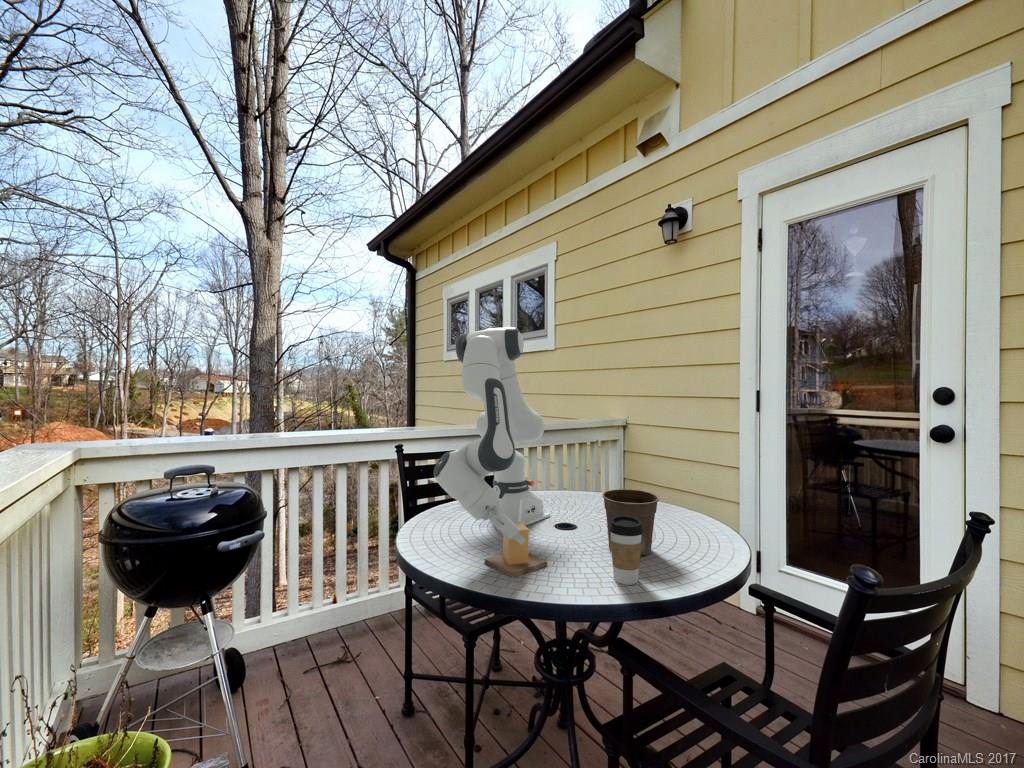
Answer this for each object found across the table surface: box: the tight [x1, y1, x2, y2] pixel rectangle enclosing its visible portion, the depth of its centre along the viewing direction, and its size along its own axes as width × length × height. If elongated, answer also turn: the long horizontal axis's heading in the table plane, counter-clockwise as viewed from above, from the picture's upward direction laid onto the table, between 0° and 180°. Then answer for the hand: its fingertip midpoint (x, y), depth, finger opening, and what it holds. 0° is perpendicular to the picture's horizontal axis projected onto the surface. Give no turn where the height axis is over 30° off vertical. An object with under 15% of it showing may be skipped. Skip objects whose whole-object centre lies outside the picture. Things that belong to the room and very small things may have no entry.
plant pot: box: [602, 488, 660, 557], centre depth 141 cm, size 16×16×16 cm
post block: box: [484, 552, 548, 578], centre depth 130 cm, size 12×12×6 cm
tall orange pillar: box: [502, 523, 529, 565], centre depth 130 cm, size 6×6×9 cm
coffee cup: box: [609, 516, 643, 586], centre depth 120 cm, size 8×8×15 cm
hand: (518, 536), depth 130 cm, fingers open, 8 cm apart
